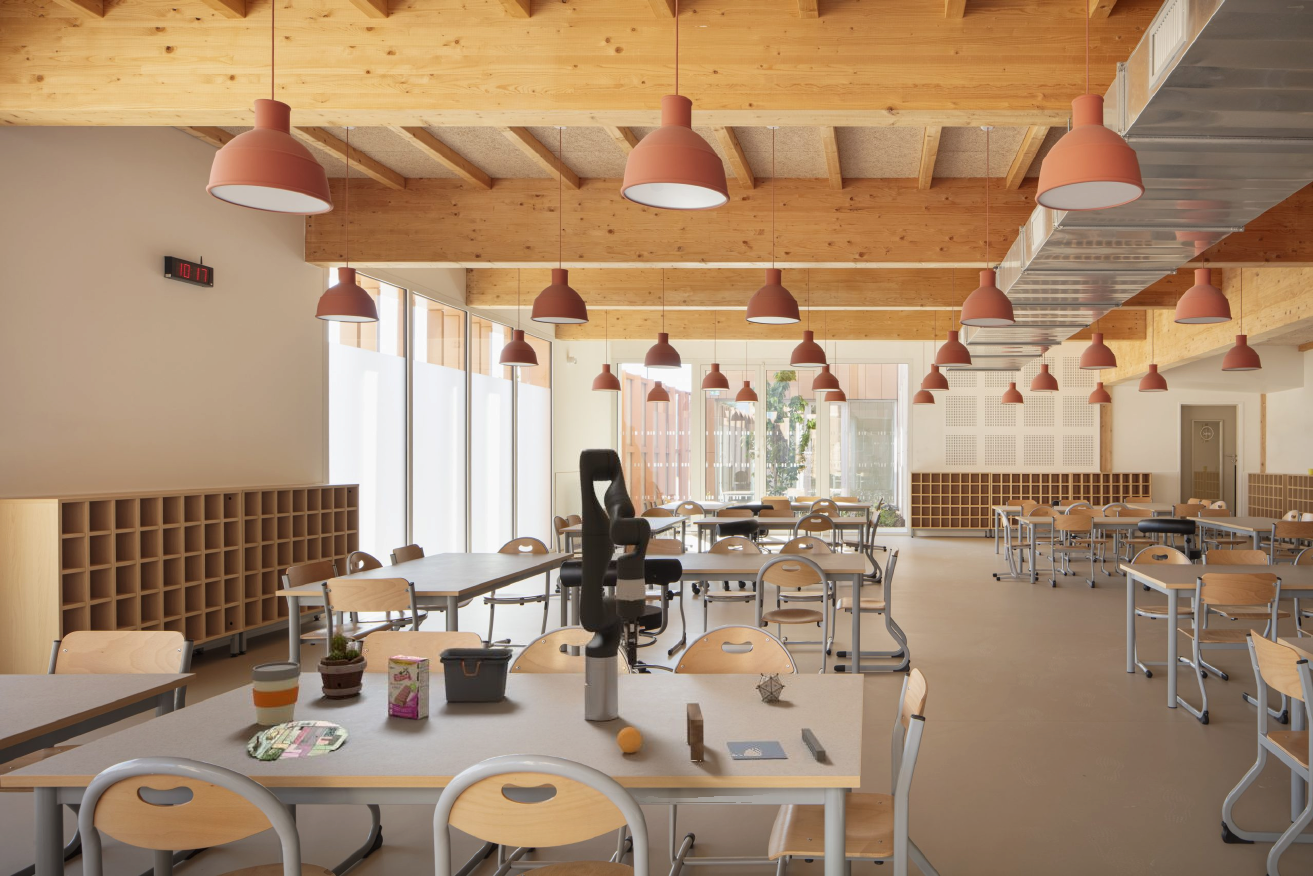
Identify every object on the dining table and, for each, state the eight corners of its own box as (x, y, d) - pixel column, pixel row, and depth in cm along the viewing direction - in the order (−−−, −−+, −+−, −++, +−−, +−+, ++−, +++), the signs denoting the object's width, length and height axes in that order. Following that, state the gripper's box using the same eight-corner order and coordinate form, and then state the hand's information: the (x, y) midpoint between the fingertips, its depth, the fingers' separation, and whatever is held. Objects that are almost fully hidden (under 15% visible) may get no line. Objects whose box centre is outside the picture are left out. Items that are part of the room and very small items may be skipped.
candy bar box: (386, 716, 243) (387, 657, 244) (399, 711, 248) (399, 654, 249) (417, 720, 239) (418, 660, 239) (429, 716, 243) (430, 657, 244)
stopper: (816, 761, 201) (816, 750, 201) (801, 738, 219) (801, 728, 219) (825, 761, 201) (825, 750, 201) (809, 738, 219) (809, 728, 219)
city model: (238, 777, 200) (239, 752, 200) (242, 738, 222) (243, 715, 221) (351, 764, 210) (352, 740, 210) (345, 728, 232) (346, 706, 231)
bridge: (691, 761, 202) (690, 719, 202) (687, 742, 217) (686, 703, 217) (703, 761, 202) (703, 719, 203) (698, 742, 217) (698, 703, 217)
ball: (617, 756, 206) (617, 731, 206) (617, 748, 212) (617, 724, 212) (642, 756, 206) (641, 731, 206) (641, 748, 212) (641, 723, 212)
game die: (773, 715, 255) (775, 693, 249) (749, 701, 259) (750, 679, 254) (789, 695, 261) (791, 673, 255) (765, 682, 265) (766, 660, 260)
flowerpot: (373, 696, 266) (374, 631, 267) (322, 704, 257) (322, 636, 258) (360, 687, 278) (361, 625, 279) (311, 694, 269) (311, 629, 270)
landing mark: (732, 759, 203) (732, 758, 203) (726, 742, 216) (726, 742, 216) (787, 758, 204) (787, 757, 204) (778, 742, 217) (778, 741, 217)
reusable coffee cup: (240, 724, 236) (241, 669, 236) (275, 713, 247) (275, 660, 248) (276, 729, 231) (277, 672, 232) (309, 717, 243) (310, 663, 244)
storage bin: (514, 693, 269) (514, 647, 269) (507, 706, 253) (507, 657, 254) (446, 694, 268) (446, 647, 269) (434, 707, 253) (434, 658, 253)
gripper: (615, 593, 224) (616, 656, 224) (616, 600, 210) (617, 667, 209) (644, 592, 225) (645, 655, 224) (647, 600, 211) (648, 666, 210)
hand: (631, 661), depth 217 cm, fingers open, 8 cm apart
